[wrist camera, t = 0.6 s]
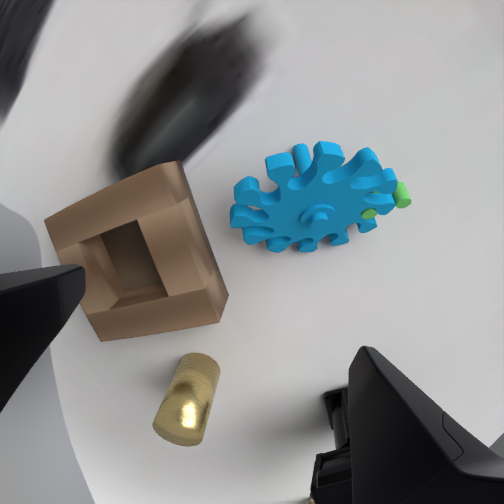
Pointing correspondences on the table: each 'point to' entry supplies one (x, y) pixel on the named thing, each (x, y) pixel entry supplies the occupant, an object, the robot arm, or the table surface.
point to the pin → (188, 400)
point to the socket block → (141, 256)
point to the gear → (315, 198)
